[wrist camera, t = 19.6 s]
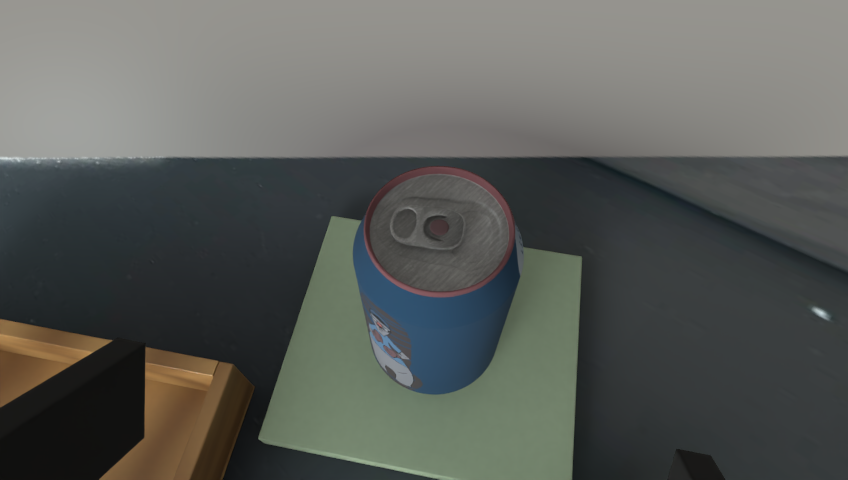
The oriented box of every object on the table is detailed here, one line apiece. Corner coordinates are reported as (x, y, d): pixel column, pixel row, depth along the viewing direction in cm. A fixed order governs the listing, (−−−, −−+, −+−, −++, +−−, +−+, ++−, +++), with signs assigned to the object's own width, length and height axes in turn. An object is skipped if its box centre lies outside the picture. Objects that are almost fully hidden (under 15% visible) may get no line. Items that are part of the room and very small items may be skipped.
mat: (577, 265, 35) (582, 256, 34) (565, 505, 28) (571, 502, 26) (334, 225, 36) (331, 215, 35) (263, 443, 29) (257, 438, 28)
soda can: (500, 294, 32) (537, 165, 22) (487, 411, 29) (525, 324, 18) (385, 276, 33) (369, 143, 23) (359, 389, 29) (325, 293, 19)
